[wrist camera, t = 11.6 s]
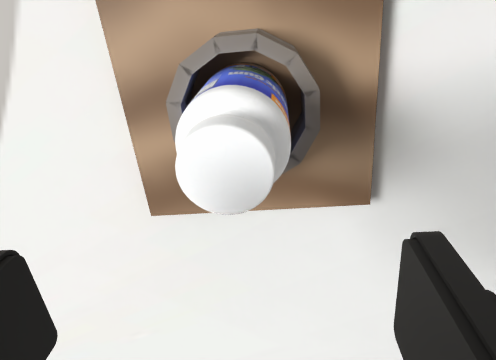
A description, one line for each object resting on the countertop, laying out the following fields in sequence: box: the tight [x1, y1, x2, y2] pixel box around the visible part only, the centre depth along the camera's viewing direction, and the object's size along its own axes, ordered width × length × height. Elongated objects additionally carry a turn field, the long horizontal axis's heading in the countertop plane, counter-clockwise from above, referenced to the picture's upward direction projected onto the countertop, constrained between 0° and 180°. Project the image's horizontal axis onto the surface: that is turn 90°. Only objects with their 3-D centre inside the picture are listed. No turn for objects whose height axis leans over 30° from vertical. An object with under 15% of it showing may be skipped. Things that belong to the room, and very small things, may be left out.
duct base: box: [95, 0, 383, 216], centre depth 22 cm, size 16×16×4 cm
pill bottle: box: [175, 63, 291, 215], centre depth 18 cm, size 5×5×10 cm
